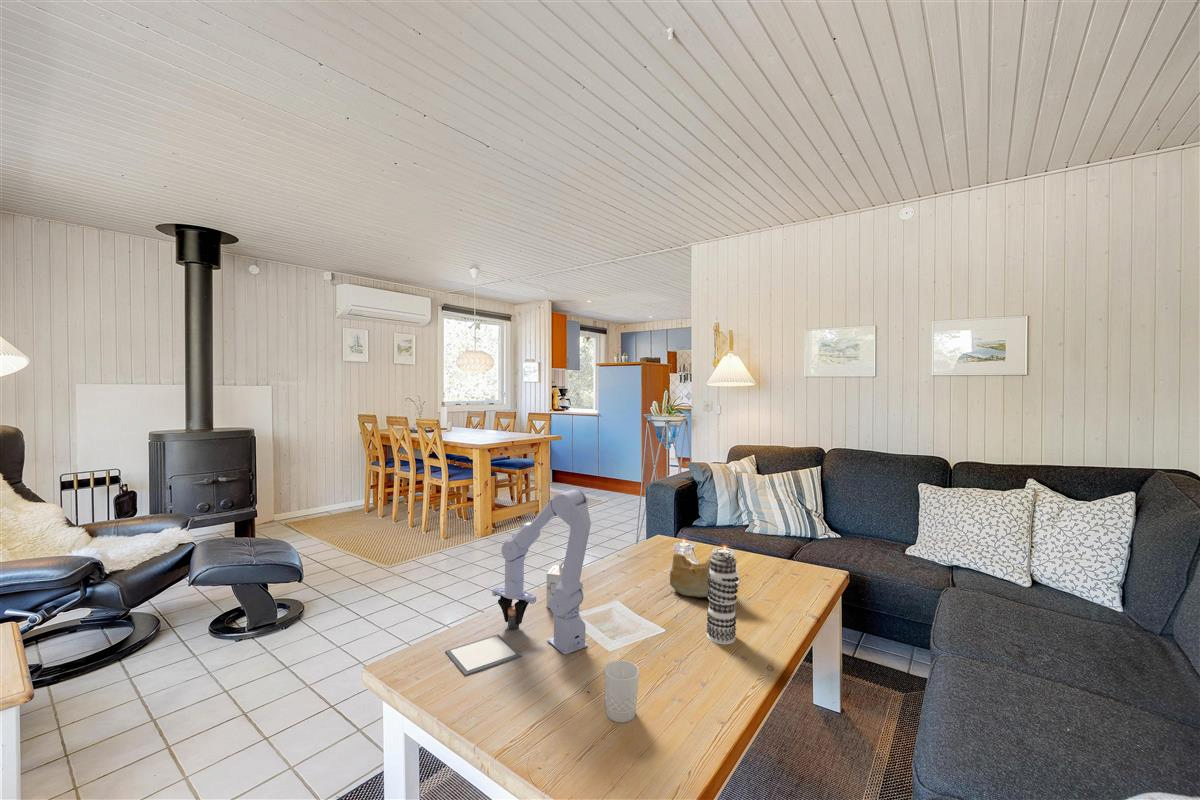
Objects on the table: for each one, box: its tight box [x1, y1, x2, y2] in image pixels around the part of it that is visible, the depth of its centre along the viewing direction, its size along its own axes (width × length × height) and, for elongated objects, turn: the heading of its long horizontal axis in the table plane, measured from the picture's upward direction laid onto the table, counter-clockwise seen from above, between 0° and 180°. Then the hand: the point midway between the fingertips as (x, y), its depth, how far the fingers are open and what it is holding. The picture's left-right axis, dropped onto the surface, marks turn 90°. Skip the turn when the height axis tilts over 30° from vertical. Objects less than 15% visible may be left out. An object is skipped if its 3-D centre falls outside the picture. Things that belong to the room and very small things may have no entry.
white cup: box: [603, 659, 640, 723], centre depth 112 cm, size 8×8×10 cm
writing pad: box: [444, 634, 522, 677], centre depth 135 cm, size 14×16×1 cm
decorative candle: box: [706, 551, 739, 645], centre depth 148 cm, size 9×9×25 cm
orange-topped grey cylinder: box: [507, 605, 520, 631], centre depth 151 cm, size 4×4×6 cm
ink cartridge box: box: [546, 558, 565, 609], centre depth 169 cm, size 9×5×15 cm, turn 168°
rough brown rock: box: [669, 553, 711, 598], centre depth 180 cm, size 23×17×15 cm
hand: (513, 622), depth 151 cm, fingers closed on orange-topped grey cylinder, 3 cm apart
